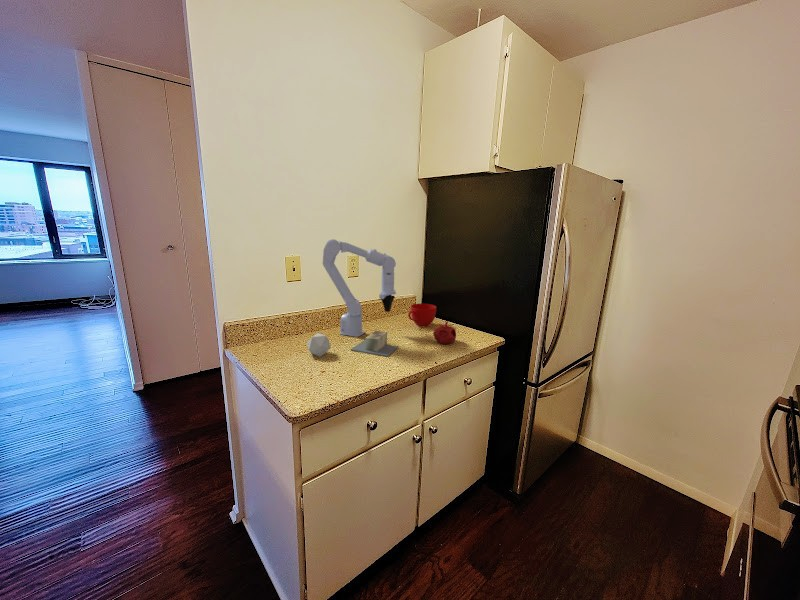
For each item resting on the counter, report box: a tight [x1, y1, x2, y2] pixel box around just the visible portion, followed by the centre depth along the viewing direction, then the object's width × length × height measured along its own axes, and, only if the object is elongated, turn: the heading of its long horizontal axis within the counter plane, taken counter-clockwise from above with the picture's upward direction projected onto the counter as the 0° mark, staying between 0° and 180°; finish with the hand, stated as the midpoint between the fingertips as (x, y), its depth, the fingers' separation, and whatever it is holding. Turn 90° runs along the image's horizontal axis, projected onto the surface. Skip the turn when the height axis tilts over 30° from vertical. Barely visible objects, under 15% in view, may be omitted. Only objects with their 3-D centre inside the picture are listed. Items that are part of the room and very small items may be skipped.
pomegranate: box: [432, 321, 457, 345], centre depth 142 cm, size 10×10×9 cm
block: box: [365, 330, 388, 351], centre depth 133 cm, size 5×5×10 cm
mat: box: [350, 340, 399, 358], centre depth 132 cm, size 16×11×1 cm
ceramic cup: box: [407, 303, 437, 328], centre depth 165 cm, size 13×17×10 cm
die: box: [306, 332, 332, 358], centre depth 124 cm, size 8×9×10 cm
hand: (387, 311), depth 151 cm, fingers closed
